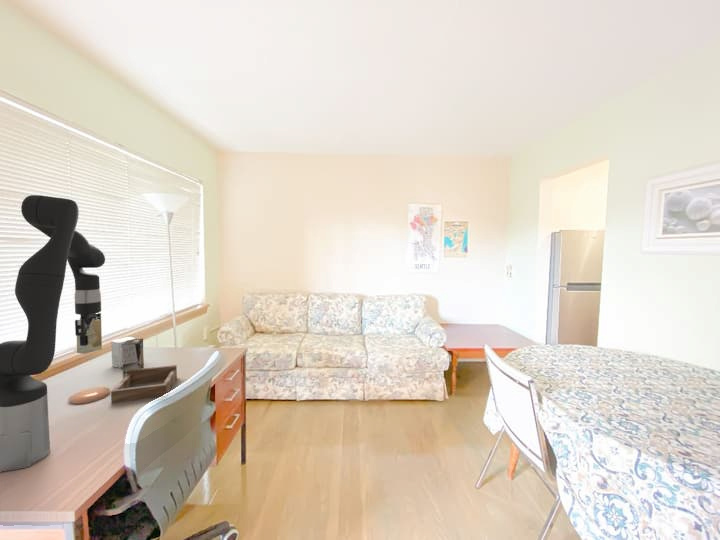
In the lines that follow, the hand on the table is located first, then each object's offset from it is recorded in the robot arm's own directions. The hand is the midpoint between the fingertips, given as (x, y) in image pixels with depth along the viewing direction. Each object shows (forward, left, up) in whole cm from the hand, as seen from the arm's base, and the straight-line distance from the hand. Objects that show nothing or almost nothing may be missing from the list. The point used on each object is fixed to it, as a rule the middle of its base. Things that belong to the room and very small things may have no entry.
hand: (89, 342), depth 116 cm
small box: (+35, 0, -22) cm, 41 cm away
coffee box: (+18, -9, -22) cm, 30 cm away
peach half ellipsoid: (0, 0, -22) cm, 22 cm away
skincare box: (0, 0, -4) cm, 4 cm away
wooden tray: (0, -19, -22) cm, 29 cm away
